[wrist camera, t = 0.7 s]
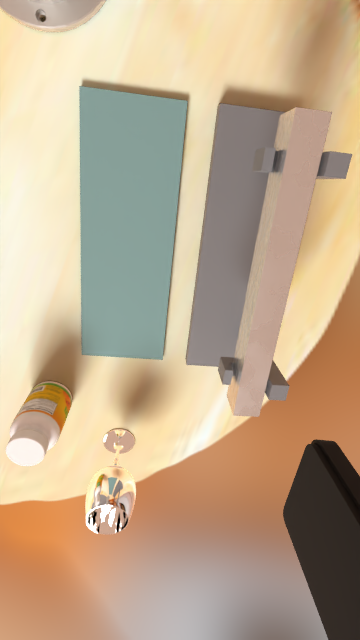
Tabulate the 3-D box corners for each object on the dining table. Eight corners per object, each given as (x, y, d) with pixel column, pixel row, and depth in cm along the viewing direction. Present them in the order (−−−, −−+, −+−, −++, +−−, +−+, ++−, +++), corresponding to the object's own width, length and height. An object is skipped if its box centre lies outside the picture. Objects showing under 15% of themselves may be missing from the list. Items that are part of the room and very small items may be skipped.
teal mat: (80, 87, 31) (79, 86, 31) (187, 102, 32) (187, 100, 32) (82, 352, 42) (81, 354, 41) (162, 357, 43) (162, 359, 42)
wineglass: (92, 448, 48) (72, 529, 37) (109, 419, 46) (93, 495, 35) (128, 461, 49) (120, 543, 38) (146, 433, 47) (143, 511, 36)
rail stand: (217, 106, 32) (257, 58, 20) (296, 117, 33) (384, 78, 20) (185, 358, 43) (197, 435, 30) (246, 362, 44) (282, 438, 31)
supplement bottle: (67, 418, 46) (44, 476, 37) (27, 407, 45) (-6, 464, 36) (77, 386, 44) (57, 440, 35) (36, 374, 43) (4, 426, 34)
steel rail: (279, 115, 24) (296, 107, 21) (312, 119, 24) (332, 112, 21) (226, 395, 33) (233, 415, 30) (250, 396, 33) (259, 416, 30)
